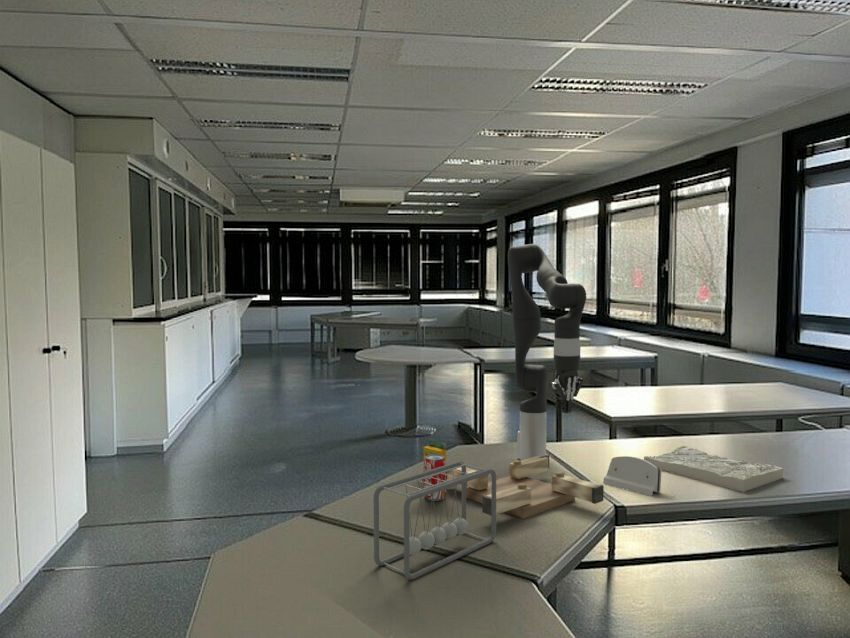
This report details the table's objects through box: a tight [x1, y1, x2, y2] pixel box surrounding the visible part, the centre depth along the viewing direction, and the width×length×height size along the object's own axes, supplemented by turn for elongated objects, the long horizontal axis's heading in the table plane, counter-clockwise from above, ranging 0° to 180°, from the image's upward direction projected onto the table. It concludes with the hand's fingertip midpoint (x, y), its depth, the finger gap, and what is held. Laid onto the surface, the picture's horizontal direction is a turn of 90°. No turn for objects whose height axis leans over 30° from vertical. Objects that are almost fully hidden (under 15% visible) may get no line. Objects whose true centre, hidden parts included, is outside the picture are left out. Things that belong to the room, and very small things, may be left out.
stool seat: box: [446, 454, 576, 519], centre depth 183 cm, size 32×44×8 cm
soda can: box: [423, 455, 447, 502], centre depth 180 cm, size 6×6×12 cm
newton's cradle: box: [373, 460, 497, 581], centre depth 142 cm, size 30×10×18 cm, turn 136°
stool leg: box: [551, 471, 605, 505], centre depth 173 cm, size 15×4×5 cm, turn 40°
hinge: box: [602, 455, 663, 497], centre depth 189 cm, size 17×5×10 cm, turn 41°
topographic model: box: [643, 445, 784, 493], centre depth 205 cm, size 23×34×5 cm
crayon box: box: [423, 439, 447, 462], centre depth 198 cm, size 7×3×12 cm, turn 47°
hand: (566, 412), depth 182 cm, fingers closed
